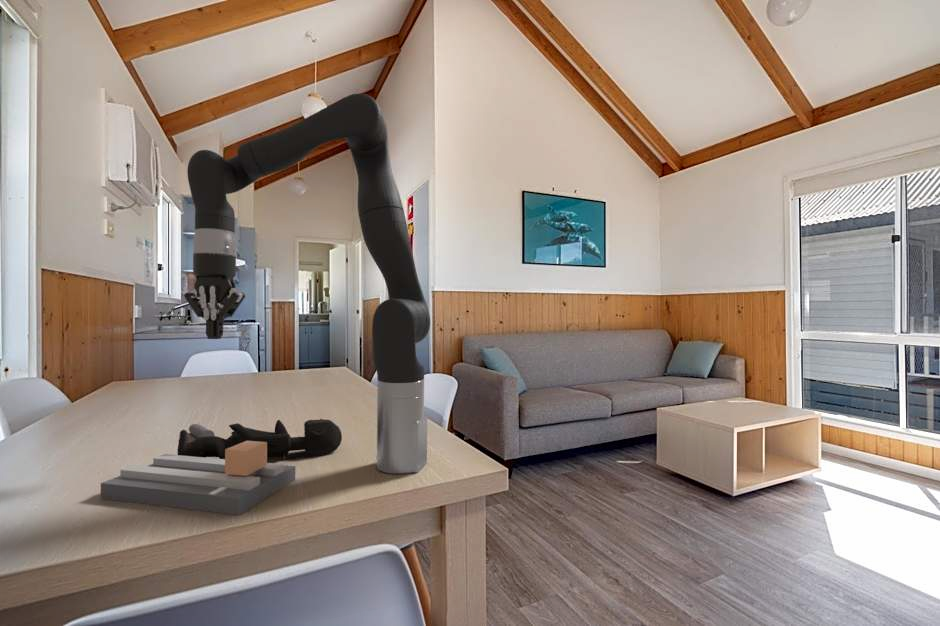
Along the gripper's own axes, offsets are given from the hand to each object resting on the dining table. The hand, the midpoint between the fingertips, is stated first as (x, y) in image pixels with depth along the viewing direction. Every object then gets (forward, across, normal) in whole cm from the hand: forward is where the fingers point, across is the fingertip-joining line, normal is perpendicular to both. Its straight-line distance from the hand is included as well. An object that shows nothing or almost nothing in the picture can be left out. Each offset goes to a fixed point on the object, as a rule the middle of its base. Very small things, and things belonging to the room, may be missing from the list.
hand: (214, 338), depth 88 cm
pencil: (+26, +16, -14) cm, 33 cm away
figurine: (+25, -9, -4) cm, 27 cm away
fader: (+22, -17, +12) cm, 31 cm away
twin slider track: (+25, -9, +12) cm, 29 cm away
